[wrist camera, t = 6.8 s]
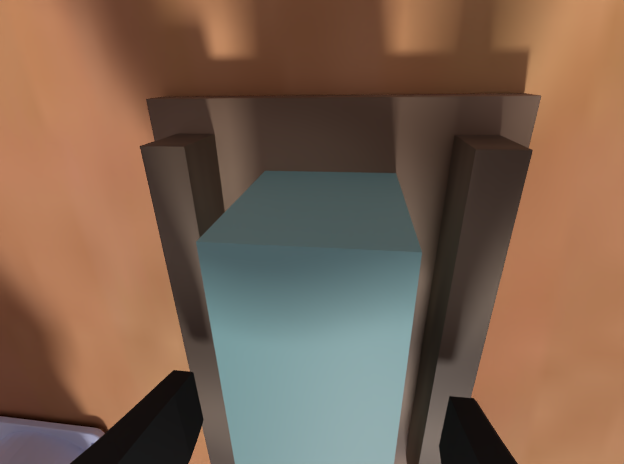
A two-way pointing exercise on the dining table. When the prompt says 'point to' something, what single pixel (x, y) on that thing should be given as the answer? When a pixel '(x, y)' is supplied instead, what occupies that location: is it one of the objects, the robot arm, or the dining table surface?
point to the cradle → (367, 159)
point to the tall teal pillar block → (313, 315)
